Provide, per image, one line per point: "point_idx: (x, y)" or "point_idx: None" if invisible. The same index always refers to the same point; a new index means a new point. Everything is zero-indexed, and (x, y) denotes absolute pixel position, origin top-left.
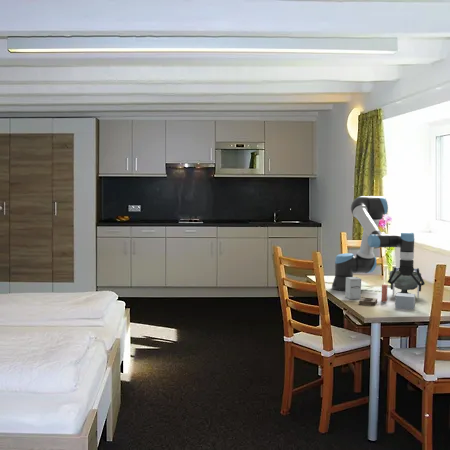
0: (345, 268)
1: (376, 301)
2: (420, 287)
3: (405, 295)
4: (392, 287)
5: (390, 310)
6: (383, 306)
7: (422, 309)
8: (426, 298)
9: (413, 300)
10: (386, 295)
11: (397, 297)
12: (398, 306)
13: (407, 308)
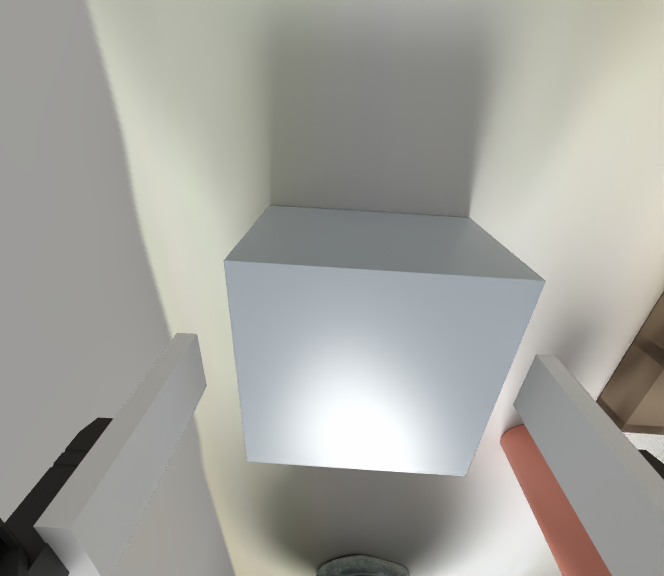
0: None
1: (638, 372)
2: (38, 497)
3: (368, 347)
4: (655, 491)
5: (568, 8)
6: (590, 251)
7: (182, 237)
8: (235, 556)
9: (245, 240)
10: (537, 485)
11: (497, 266)
12: (438, 219)
13: (334, 209)
